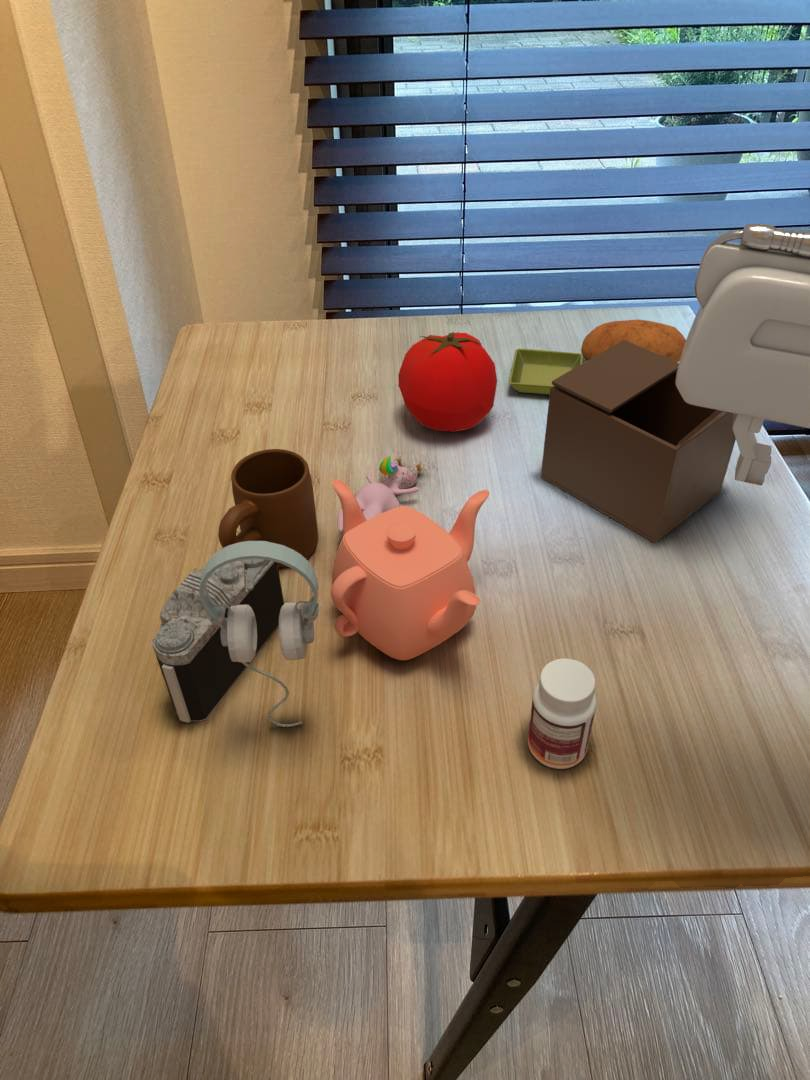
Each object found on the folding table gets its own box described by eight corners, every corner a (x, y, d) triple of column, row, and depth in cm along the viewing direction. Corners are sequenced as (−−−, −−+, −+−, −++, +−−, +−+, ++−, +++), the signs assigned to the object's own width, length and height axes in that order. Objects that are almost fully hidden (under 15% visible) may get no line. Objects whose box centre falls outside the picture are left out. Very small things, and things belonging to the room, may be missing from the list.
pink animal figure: (384, 475, 96) (318, 538, 85) (386, 427, 93) (317, 487, 81) (434, 488, 94) (373, 555, 83) (438, 440, 91) (375, 503, 79)
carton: (720, 491, 91) (749, 392, 82) (654, 543, 85) (678, 443, 76) (607, 433, 99) (623, 339, 91) (540, 477, 93) (550, 380, 85)
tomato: (477, 456, 96) (481, 370, 89) (385, 436, 99) (381, 352, 92) (508, 402, 104) (513, 319, 97) (421, 385, 108) (420, 304, 100)
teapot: (341, 560, 84) (332, 472, 77) (484, 570, 82) (490, 482, 75) (311, 674, 73) (297, 584, 66) (475, 688, 72) (480, 598, 64)
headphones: (233, 749, 68) (183, 571, 54) (238, 709, 71) (192, 530, 57) (336, 745, 68) (312, 566, 54) (337, 704, 71) (315, 525, 57)
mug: (268, 609, 79) (253, 535, 73) (202, 584, 82) (183, 510, 75) (333, 532, 87) (325, 459, 81) (271, 512, 90) (259, 439, 83)
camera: (233, 589, 81) (215, 509, 74) (294, 610, 79) (281, 530, 72) (135, 703, 71) (104, 623, 65) (201, 730, 69) (175, 651, 62)
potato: (671, 394, 105) (675, 345, 100) (574, 377, 111) (573, 330, 106) (688, 361, 109) (693, 313, 104) (593, 346, 115) (593, 299, 110)
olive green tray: (507, 397, 105) (508, 382, 104) (514, 361, 111) (515, 347, 110) (577, 403, 104) (579, 389, 102) (581, 367, 110) (583, 353, 109)
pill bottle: (551, 710, 70) (561, 643, 64) (599, 744, 67) (614, 678, 62) (514, 745, 67) (521, 679, 62) (562, 782, 65) (574, 716, 59)
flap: (748, 392, 82) (750, 395, 82) (677, 442, 77) (680, 446, 76) (802, 347, 76) (805, 351, 76) (730, 398, 70) (733, 402, 70)
